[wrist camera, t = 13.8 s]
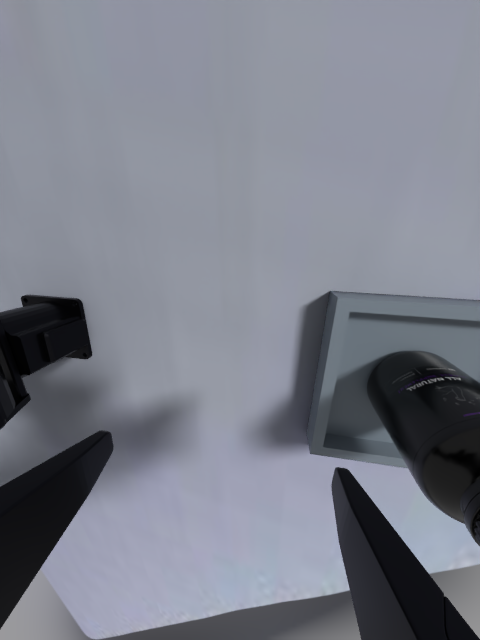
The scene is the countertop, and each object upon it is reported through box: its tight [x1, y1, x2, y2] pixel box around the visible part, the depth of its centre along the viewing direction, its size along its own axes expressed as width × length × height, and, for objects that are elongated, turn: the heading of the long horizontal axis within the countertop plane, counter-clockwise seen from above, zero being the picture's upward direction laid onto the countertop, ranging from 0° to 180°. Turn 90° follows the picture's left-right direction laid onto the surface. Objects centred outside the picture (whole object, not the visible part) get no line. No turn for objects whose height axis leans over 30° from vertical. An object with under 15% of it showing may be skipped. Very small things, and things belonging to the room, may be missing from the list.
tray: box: [307, 291, 480, 468], centre depth 19 cm, size 15×15×2 cm
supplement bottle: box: [367, 351, 480, 546], centre depth 14 cm, size 7×7×12 cm
